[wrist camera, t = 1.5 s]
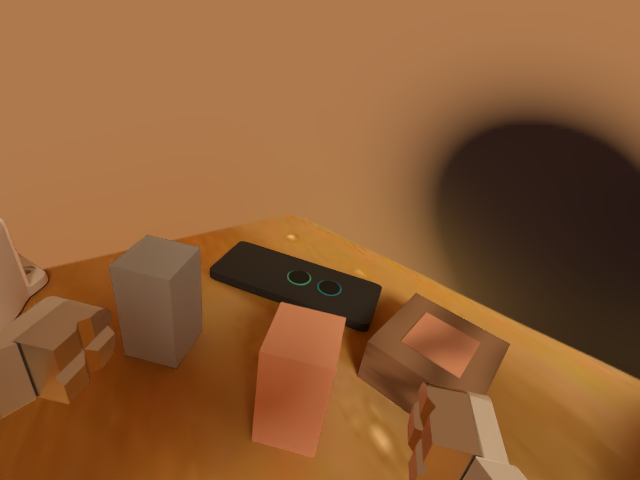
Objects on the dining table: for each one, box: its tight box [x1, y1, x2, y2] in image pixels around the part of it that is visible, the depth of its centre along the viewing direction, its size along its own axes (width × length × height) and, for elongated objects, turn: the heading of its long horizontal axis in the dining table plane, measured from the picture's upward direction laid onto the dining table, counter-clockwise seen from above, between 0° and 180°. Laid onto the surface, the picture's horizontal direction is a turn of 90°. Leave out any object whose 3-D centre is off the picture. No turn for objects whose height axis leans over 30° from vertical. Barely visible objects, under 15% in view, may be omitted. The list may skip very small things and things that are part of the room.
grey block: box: [109, 235, 202, 369], centre depth 33 cm, size 5×5×10 cm
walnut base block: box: [357, 293, 510, 414], centre depth 35 cm, size 10×10×5 cm
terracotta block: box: [251, 302, 346, 458], centre depth 28 cm, size 5×5×10 cm
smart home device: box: [210, 241, 382, 332], centre depth 46 cm, size 8×2×20 cm
